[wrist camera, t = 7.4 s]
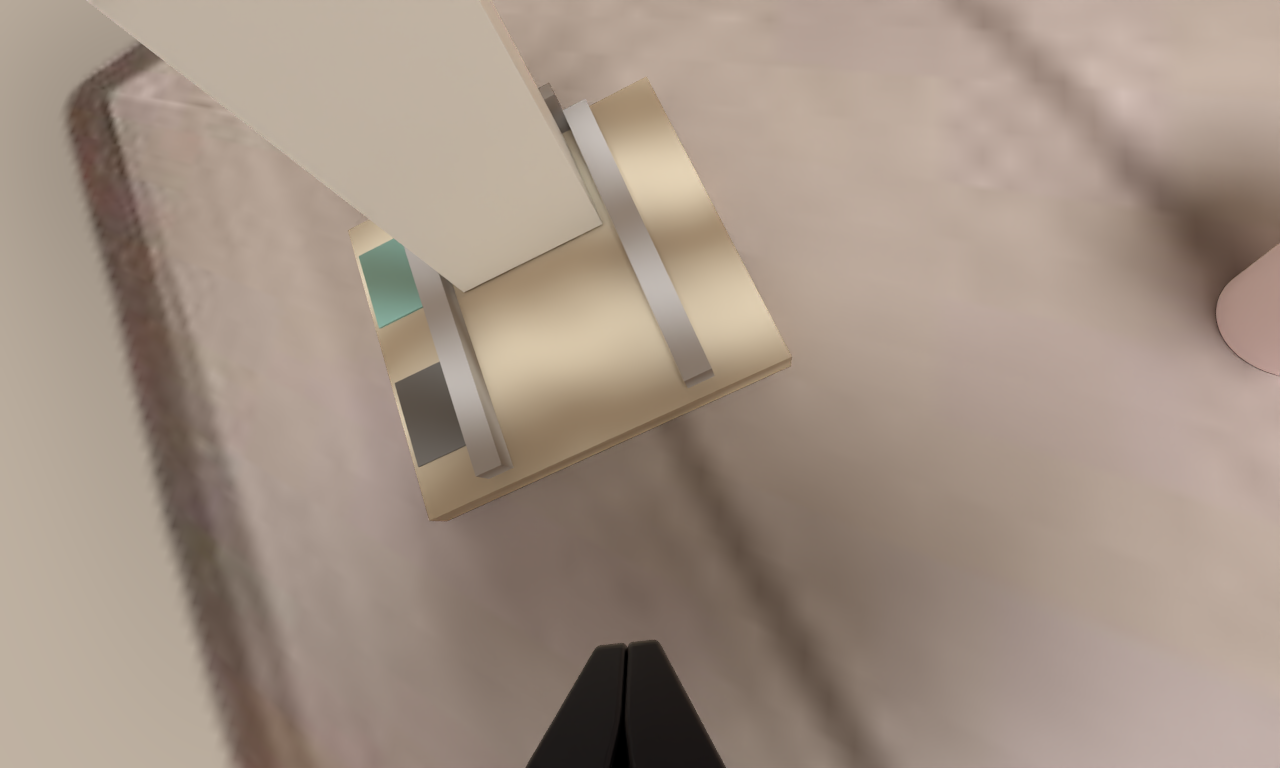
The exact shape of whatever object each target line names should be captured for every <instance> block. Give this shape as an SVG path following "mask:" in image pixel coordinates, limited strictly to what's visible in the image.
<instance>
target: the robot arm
mask: <svg viewBox="0 0 1280 768" xmlns="http://www.w3.org/2000/svg"><path fill="white" fill-rule="evenodd" d="M526 768H726V767H725V765H724V763H723V761H722V759H721V757H720V755H719V754H718V752H717V750H716V748H715V746H714V744H713V742H712V740H711V739H710V737H709V735H708V733H707V731H706V729H705V727H704V725H703V723H702V722H701V720H700V718H699V716H698V714H697V712H696V710H695V708H694V707H693V705H692V703H691V701H690V699H689V697H688V695H687V693H686V691H685V690H684V688H683V686H682V684H681V682H680V680H679V678H678V676H677V675H676V673H675V671H674V669H673V667H672V665H671V663H670V661H669V660H668V658H667V656H666V654H665V652H664V650H663V648H662V646H661V645H660V643H659V642H658V641H656V640H648V641H638V642H631V643H630V644H629V646H628V647H627V646H626V645H625V644H623V643H618V644H609V645H600V646H598V647H597V648H596V649H595V650H594V651H593V653H592V655H591V656H590V658H589V660H588V662H587V663H586V665H585V667H584V668H583V670H582V672H581V674H580V675H579V677H578V679H577V680H576V682H575V684H574V686H573V687H572V689H571V691H570V692H569V694H568V696H567V697H566V699H565V701H564V703H563V704H562V706H561V708H560V709H559V711H558V713H557V715H556V716H555V718H554V720H553V721H552V723H551V725H550V727H549V728H548V730H547V732H546V733H545V735H544V737H543V739H542V740H541V742H540V744H539V745H538V747H537V749H536V751H535V752H534V754H533V756H532V757H531V759H530V761H529V762H528V764H527V766H526Z"/></svg>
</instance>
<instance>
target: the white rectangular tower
mask: <svg viewBox="0 0 1280 768" xmlns="http://www.w3.org/2000/svg"><path fill="white" fill-rule="evenodd" d="M86 1H87V2H89V3H90V4H91V5H93V6H94V7H95V8H96V9H98V10H99V11H100V12H102V13H103V14H104V15H105V16H107V17H108V18H109V19H111V20H112V21H113V22H115V23H116V24H117V25H118V26H120V27H121V28H122V29H124V30H125V31H126V32H127V33H129V34H130V35H131V36H133V37H134V38H135V39H136V40H138V41H139V42H140V43H142V44H143V45H144V46H146V47H147V48H148V49H149V50H151V51H152V52H153V53H155V54H156V55H157V56H158V57H160V58H161V59H162V60H164V61H165V62H166V63H168V64H169V65H170V66H171V67H173V68H174V69H175V70H177V71H178V72H179V73H180V74H182V75H183V76H184V77H186V78H187V79H188V80H190V81H191V82H192V83H193V84H195V85H196V86H197V87H199V88H200V89H201V90H202V91H204V92H205V93H206V94H208V95H209V96H210V97H212V98H213V99H214V100H215V101H217V102H218V103H219V104H221V105H222V106H223V107H224V108H226V109H227V110H228V111H230V112H231V113H232V114H234V115H235V116H236V117H237V118H239V119H240V120H241V121H243V122H244V123H245V124H246V125H248V126H249V127H250V128H252V129H253V130H254V131H256V132H257V133H258V134H259V135H261V136H262V137H263V138H265V139H266V140H267V141H268V142H270V143H271V144H272V145H274V146H275V147H276V148H277V149H279V150H280V151H281V152H283V153H284V154H285V155H287V156H288V157H289V158H290V159H292V160H293V161H294V162H296V163H297V164H298V165H299V166H301V167H302V168H303V169H305V170H306V171H307V172H309V173H310V174H311V175H312V176H314V177H315V178H316V179H318V180H319V181H320V182H321V183H323V184H324V185H325V186H327V187H328V188H329V189H331V190H332V191H333V192H334V193H336V194H337V195H338V196H340V197H341V198H342V199H343V200H345V201H346V202H347V203H349V204H350V205H351V206H353V207H354V208H355V209H356V210H358V211H359V212H360V213H362V214H363V215H364V216H365V217H367V218H368V219H369V220H371V221H372V222H373V223H375V224H376V225H377V226H378V227H380V228H381V229H382V230H384V231H385V232H386V233H387V234H389V235H390V236H391V237H393V238H394V239H395V240H397V241H398V242H399V243H400V244H402V245H403V246H404V247H406V248H407V249H408V250H409V251H411V252H412V253H413V254H415V255H416V256H417V257H419V258H420V259H421V260H422V261H424V262H425V263H426V264H428V265H429V266H430V267H431V268H433V269H434V270H435V271H437V272H438V273H439V274H440V275H442V276H443V277H444V278H446V279H447V280H448V281H450V282H451V283H452V284H453V285H455V286H456V287H457V288H459V289H460V290H461V291H462V292H466V291H468V290H470V289H472V288H474V287H476V286H478V285H480V284H482V283H484V282H486V281H488V280H490V279H492V278H494V277H496V276H498V275H500V274H502V273H504V272H506V271H508V270H510V269H512V268H514V267H516V266H518V265H520V264H523V263H525V262H527V261H529V260H531V259H533V258H535V257H537V256H539V255H541V254H543V253H545V252H547V251H549V250H551V249H553V248H555V247H557V246H559V245H561V244H563V243H565V242H567V241H569V240H571V239H573V238H575V237H577V236H579V235H581V234H583V233H585V232H587V231H590V230H592V229H594V228H596V227H598V226H600V225H602V221H601V219H600V217H599V215H598V212H597V210H596V208H595V206H594V203H593V201H592V199H591V197H590V194H589V192H588V190H587V187H586V185H585V183H584V181H583V178H582V176H581V174H580V172H579V169H578V167H577V165H576V163H575V160H574V158H573V156H572V154H571V151H570V149H569V147H568V145H567V143H566V141H565V139H564V137H563V135H562V133H561V131H560V129H559V127H558V126H557V124H556V122H555V120H554V118H553V116H552V114H551V112H550V110H549V108H548V107H547V105H546V103H545V101H544V99H543V97H542V95H541V93H540V91H539V90H538V88H537V86H536V84H535V82H534V80H533V78H532V76H531V74H530V73H529V71H528V69H527V67H526V65H525V63H524V61H523V59H522V57H521V56H520V54H519V52H518V50H517V48H516V46H515V44H514V42H513V40H512V39H511V37H510V35H509V33H508V31H507V29H506V27H505V25H504V23H503V21H502V20H501V18H500V16H499V14H498V12H497V10H496V8H495V6H494V4H493V3H492V1H491V0H86Z"/></svg>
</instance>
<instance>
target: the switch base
mask: <svg viewBox="0 0 1280 768" xmlns="http://www.w3.org/2000/svg"><path fill="white" fill-rule="evenodd" d="M538 90H539V91H540V93H541V95H542V97H543V99H544V101H545V103H546V105H547V107H548V108H549V110H550V112H551V114H552V116H553V118H554V120H555V122H556V124H557V126H558V127H559V129H560V131H561V133H562V135H563V137H564V139H565V141H566V143H567V145H568V147H569V149H570V151H571V154H572V156H573V158H574V160H575V163H576V165H577V167H578V169H579V172H580V174H581V176H582V178H583V181H584V183H585V185H586V187H587V190H588V192H589V194H590V197H591V199H592V201H593V203H594V206H595V208H596V210H597V212H598V215H599V217H600V219H601V221H602V225H600V226H598V227H596V228H594V229H592V230H590V231H587V232H585V233H583V234H581V235H579V236H577V237H575V238H573V239H571V240H569V241H567V242H565V243H563V244H561V245H559V246H557V247H555V248H553V249H551V250H549V251H547V252H545V253H543V254H541V255H539V256H537V257H535V258H533V259H531V260H529V261H527V262H525V263H523V264H520V265H518V266H516V267H514V268H512V269H510V270H508V271H506V272H504V273H502V274H500V275H498V276H496V277H494V278H492V279H490V280H488V281H486V282H484V283H482V284H480V285H478V286H476V287H474V288H472V289H470V290H468V291H466V292H462V291H461V290H460V289H459V288H457V287H456V286H455V285H453V284H452V283H451V282H450V281H448V280H447V279H446V278H444V277H443V276H442V275H440V274H439V273H438V272H437V271H435V270H434V269H433V268H431V267H430V266H429V265H428V264H426V263H425V262H424V261H422V260H421V259H420V258H419V257H417V256H416V255H415V254H413V253H412V252H411V251H409V250H408V249H407V248H406V247H404V246H403V245H402V244H400V243H399V242H398V241H397V240H395V239H394V238H393V237H391V236H390V235H389V234H387V233H386V232H385V231H384V230H382V229H381V228H380V227H378V226H377V225H376V224H375V223H373V222H372V221H371V220H367V221H365V222H363V223H362V224H360V225H358V226H356V227H354V228H352V229H350V230H348V232H349V236H350V240H351V243H352V247H353V250H354V254H355V257H356V261H357V265H358V268H359V272H360V275H361V279H362V282H363V286H364V289H365V293H366V297H367V300H368V304H369V307H370V311H371V314H372V318H373V322H374V325H375V329H376V332H377V336H378V339H379V343H380V347H381V350H382V354H383V357H384V361H385V364H386V368H387V372H388V375H389V379H390V382H391V386H392V389H393V393H394V396H395V400H396V404H397V407H398V411H399V414H400V418H401V421H402V425H403V429H404V432H405V436H406V439H407V443H408V446H409V450H410V454H411V457H412V461H413V464H414V468H415V471H416V475H417V479H418V482H419V486H420V489H421V493H422V496H423V500H424V503H425V507H426V511H427V514H428V518H429V521H448V520H451V519H453V518H455V517H457V516H459V515H462V514H464V513H466V512H468V511H471V510H473V509H475V508H477V507H479V506H482V505H484V504H486V503H488V502H491V501H493V500H495V499H497V498H499V497H502V496H504V495H506V494H508V493H510V492H513V491H515V490H517V489H519V488H522V487H524V486H526V485H528V484H530V483H533V482H535V481H537V480H539V479H542V478H544V477H546V476H548V475H550V474H553V473H555V472H557V471H559V470H561V469H564V468H566V467H568V466H570V465H573V464H575V463H577V462H579V461H581V460H584V459H586V458H588V457H590V456H593V455H595V454H597V453H599V452H601V451H604V450H606V449H608V448H610V447H612V446H615V445H617V444H619V443H621V442H624V441H626V440H628V439H630V438H632V437H635V436H637V435H639V434H641V433H644V432H646V431H648V430H650V429H652V428H655V427H657V426H659V425H661V424H663V423H666V422H668V421H670V420H672V419H675V418H677V417H679V416H681V415H683V414H686V413H688V412H690V411H692V410H695V409H697V408H699V407H701V406H703V405H706V404H708V403H710V402H712V401H715V400H717V399H719V398H721V397H723V396H726V395H728V394H730V393H732V392H734V391H737V390H739V389H741V388H743V387H746V386H748V385H750V384H752V383H754V382H757V381H759V380H761V379H763V378H766V377H768V376H770V375H772V374H774V373H777V372H779V371H781V370H783V369H785V368H788V367H790V366H791V359H792V356H791V354H790V352H789V350H788V349H787V347H786V345H785V343H784V341H783V339H782V337H781V335H780V333H779V331H778V329H777V327H776V325H775V323H774V322H773V320H772V318H771V316H770V314H769V312H768V310H767V308H766V306H765V304H764V302H763V300H762V298H761V296H760V294H759V293H758V291H757V289H756V287H755V285H754V283H753V281H752V279H751V277H750V275H749V273H748V271H747V269H746V267H745V266H744V264H743V262H742V260H741V258H740V256H739V254H738V252H737V250H736V248H735V246H734V244H733V242H732V240H731V239H730V237H729V235H728V233H727V231H726V229H725V227H724V225H723V223H722V221H721V219H720V217H719V215H718V213H717V212H716V210H715V208H714V206H713V204H712V202H711V200H710V198H709V196H708V194H707V192H706V190H705V188H704V186H703V185H702V183H701V181H700V179H699V177H698V175H697V173H696V171H695V169H694V167H693V165H692V163H691V161H690V159H689V158H688V156H687V154H686V152H685V150H684V148H683V146H682V144H681V142H680V140H679V138H678V136H677V134H676V132H675V131H674V129H673V127H672V125H671V123H670V121H669V119H668V117H667V115H666V113H665V111H664V109H663V107H662V105H661V104H660V102H659V100H658V98H657V96H656V94H655V92H654V90H653V88H652V86H651V84H650V82H649V80H648V78H647V77H645V78H643V79H641V80H639V81H637V82H635V83H633V84H631V85H629V86H627V87H625V88H623V89H621V90H620V91H618V92H616V93H614V94H612V95H610V96H608V97H606V98H604V99H602V100H600V101H598V102H596V103H594V104H592V105H590V106H589V105H588V103H587V101H586V99H584V100H582V101H580V102H578V103H576V104H574V105H572V106H570V107H568V108H566V109H564V110H562V108H561V106H560V104H559V102H558V100H557V98H556V96H555V94H554V92H553V90H552V88H551V86H550V84H549V83H547V84H546V85H544V86H542V87H540V88H538Z"/></svg>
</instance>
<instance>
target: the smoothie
mask: <svg viewBox="0 0 1280 768" xmlns="http://www.w3.org/2000/svg"><path fill="white" fill-rule="evenodd" d="M1216 319H1217V324H1218V327H1219V330H1220V333H1221V335H1222V337H1223V338H1224V340H1225V342H1226V343H1227V344H1228V346H1229V347H1230V348H1231V349H1232V350H1233V351H1234V352H1235V353H1236V354H1237V355H1238V356H1239V357H1241V358H1242V359H1243V360H1245V361H1246V362H1248V363H1249V364H1251V365H1253V366H1254V367H1256V368H1259V369H1261V370H1263V371H1266V372H1268V373H1272V374H1275V375H1279V376H1280V243H1279V244H1277V245H1276V246H1275V247H1274V248H1272V249H1271V250H1270V251H1268V252H1267V253H1266V254H1265V255H1263V256H1262V257H1261V258H1259V259H1258V260H1257V261H1255V262H1254V263H1253V264H1252V265H1250V266H1249V267H1248V268H1246V269H1245V270H1244V271H1242V272H1241V273H1240V274H1239V275H1237V276H1236V277H1235V278H1233V279H1232V280H1231V281H1230V282H1229V283H1228V284H1227V285H1226V286H1225V288H1224V289H1223V291H1222V292H1221V294H1220V296H1219V299H1218V302H1217V307H1216Z"/></svg>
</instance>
